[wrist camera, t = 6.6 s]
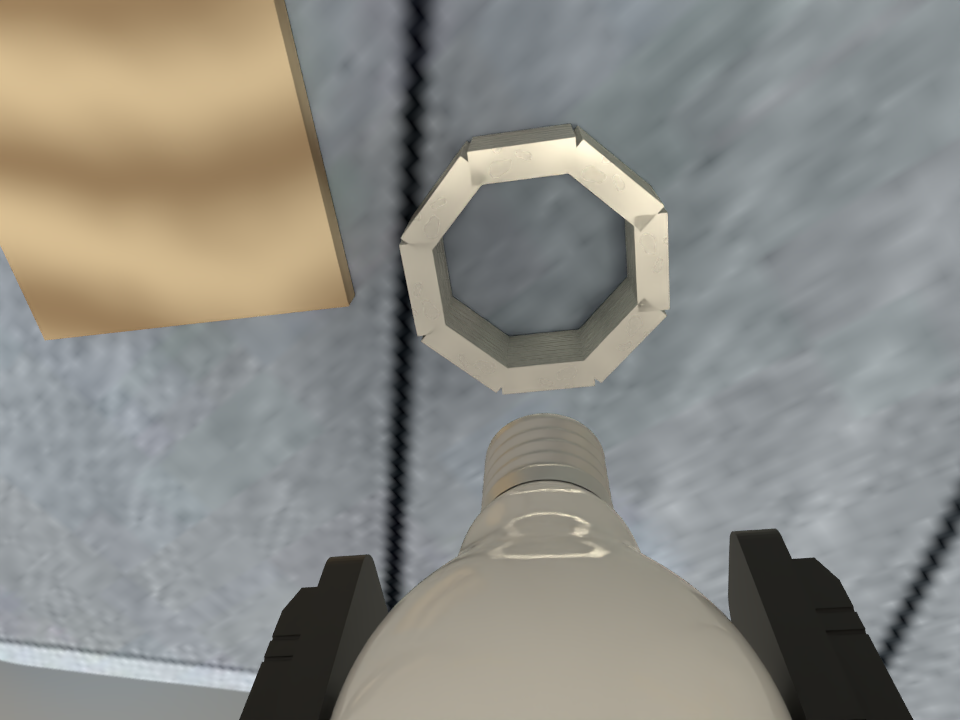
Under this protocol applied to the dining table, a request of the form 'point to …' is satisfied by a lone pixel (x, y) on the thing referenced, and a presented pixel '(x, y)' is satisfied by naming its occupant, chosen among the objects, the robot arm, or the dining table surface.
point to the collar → (553, 353)
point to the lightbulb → (555, 612)
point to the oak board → (161, 166)
